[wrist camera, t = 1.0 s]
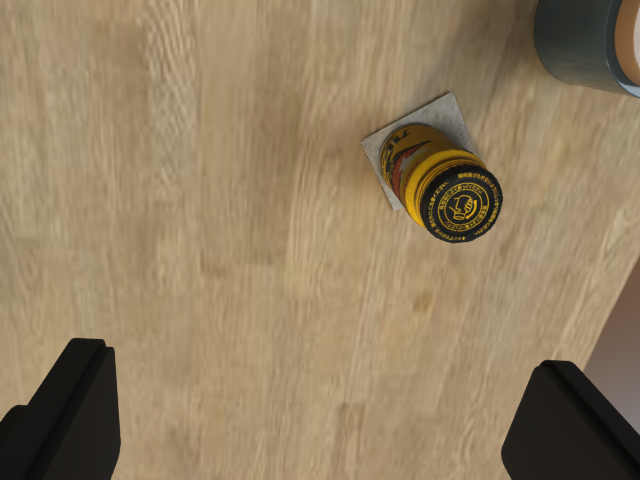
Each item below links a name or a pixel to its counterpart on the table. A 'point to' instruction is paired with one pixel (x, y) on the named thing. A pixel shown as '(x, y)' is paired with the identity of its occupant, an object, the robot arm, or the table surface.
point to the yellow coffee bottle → (436, 172)
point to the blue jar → (591, 43)
